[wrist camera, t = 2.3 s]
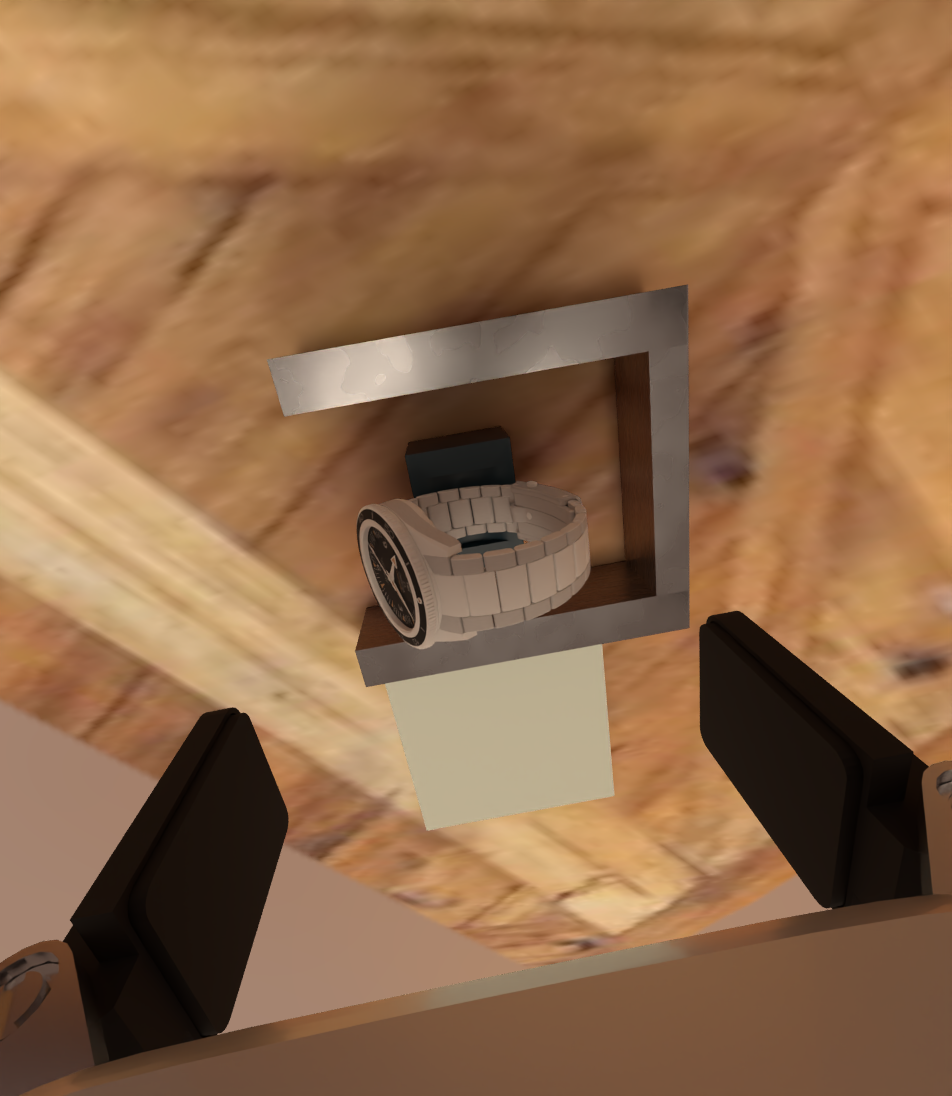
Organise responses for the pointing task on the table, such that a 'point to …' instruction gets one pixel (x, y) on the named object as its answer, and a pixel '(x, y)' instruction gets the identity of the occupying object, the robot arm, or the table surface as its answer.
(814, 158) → the table surface
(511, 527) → the watch
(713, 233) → the table surface
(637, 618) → the u-shaped metal bracket
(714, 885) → the table surface
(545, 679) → the sage mat
